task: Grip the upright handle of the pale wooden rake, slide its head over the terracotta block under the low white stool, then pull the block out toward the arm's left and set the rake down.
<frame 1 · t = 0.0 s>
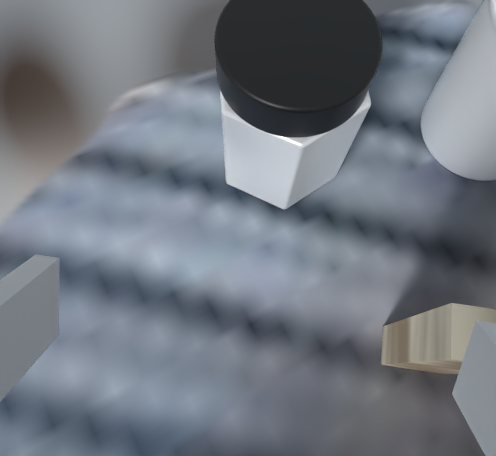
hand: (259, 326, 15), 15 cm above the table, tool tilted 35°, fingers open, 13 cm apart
candle holder: (473, 132, 35), on the table
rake: (413, 349, 29), on the table
jar: (278, 153, 34), on the table
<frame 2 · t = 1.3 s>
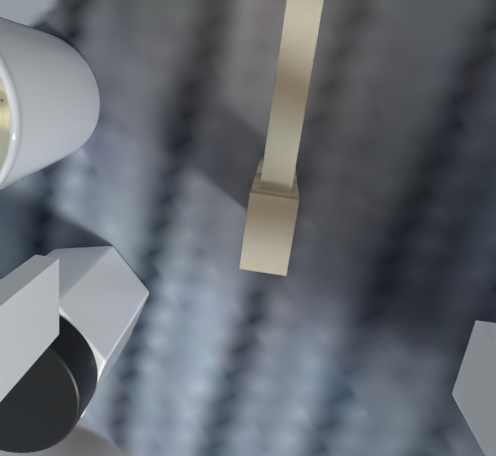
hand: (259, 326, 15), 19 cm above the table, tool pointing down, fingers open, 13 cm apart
candle holder: (43, 97, 32), on the table
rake: (272, 189, 32), on the table
jar: (94, 292, 36), on the table
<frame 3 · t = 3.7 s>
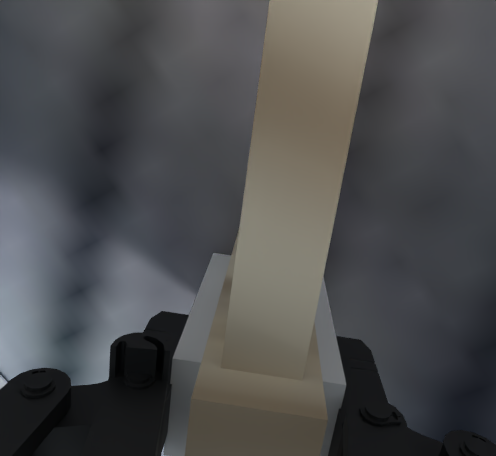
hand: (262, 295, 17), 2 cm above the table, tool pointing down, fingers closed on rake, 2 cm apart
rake: (263, 278, 18), on the table, touching gripper
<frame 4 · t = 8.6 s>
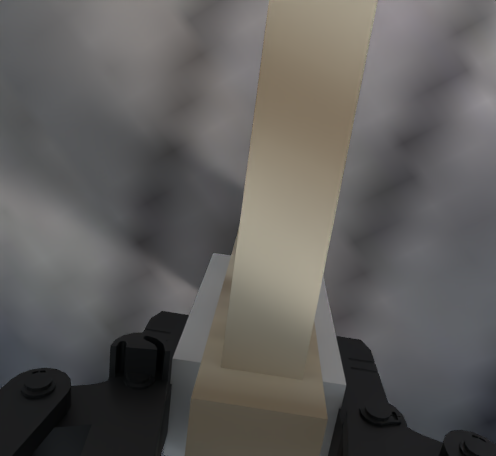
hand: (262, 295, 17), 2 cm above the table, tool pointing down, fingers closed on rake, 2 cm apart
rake: (263, 277, 18), point 1 cm above the table, touching gripper
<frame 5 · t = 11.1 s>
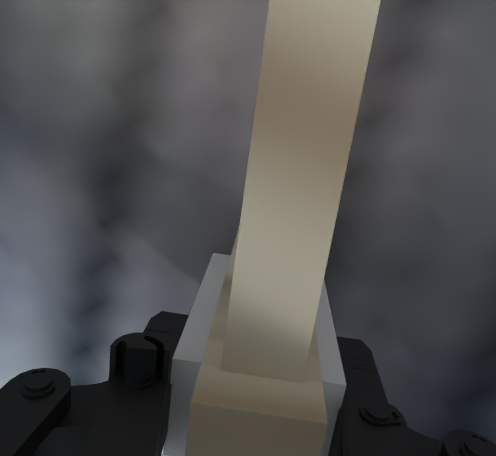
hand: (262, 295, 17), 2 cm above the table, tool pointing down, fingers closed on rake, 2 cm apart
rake: (263, 274, 18), point 1 cm above the table, touching block, gripper
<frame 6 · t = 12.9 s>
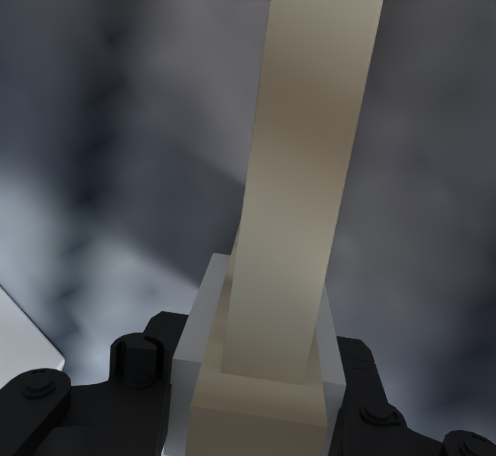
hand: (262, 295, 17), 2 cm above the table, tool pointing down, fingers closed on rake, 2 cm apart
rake: (264, 273, 18), point 1 cm above the table, touching block, gripper
when the fingers open (2 cm above the table, at t = 13.6 s): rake stays where it is, on the table.
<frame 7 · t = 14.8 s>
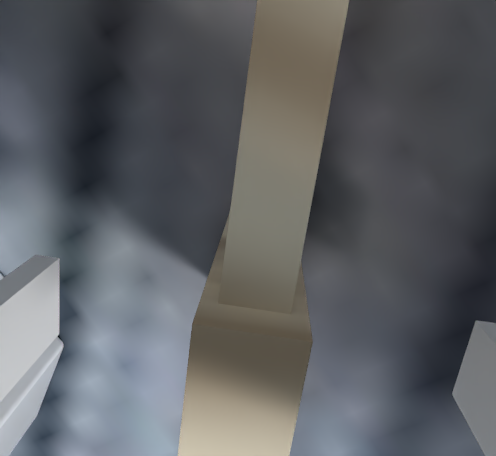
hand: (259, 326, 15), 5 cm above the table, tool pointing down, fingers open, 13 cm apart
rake: (256, 248, 19), on the table
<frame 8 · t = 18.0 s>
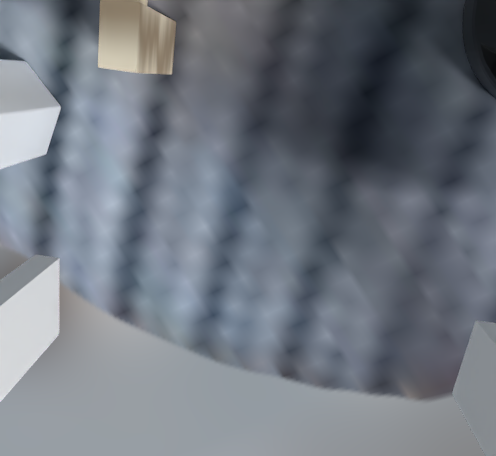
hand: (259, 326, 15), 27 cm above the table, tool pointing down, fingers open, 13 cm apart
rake: (159, 46, 38), on the table
jar: (13, 111, 40), on the table
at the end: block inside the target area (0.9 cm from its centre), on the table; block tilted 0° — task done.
